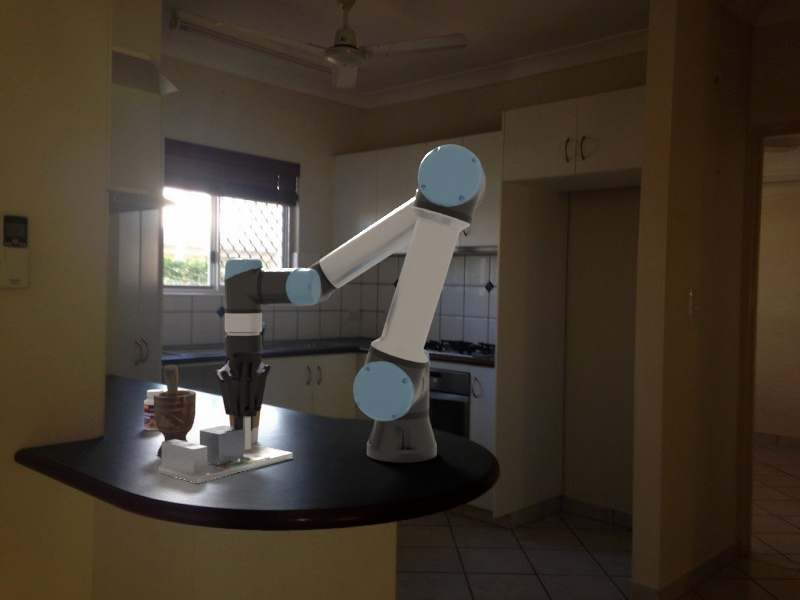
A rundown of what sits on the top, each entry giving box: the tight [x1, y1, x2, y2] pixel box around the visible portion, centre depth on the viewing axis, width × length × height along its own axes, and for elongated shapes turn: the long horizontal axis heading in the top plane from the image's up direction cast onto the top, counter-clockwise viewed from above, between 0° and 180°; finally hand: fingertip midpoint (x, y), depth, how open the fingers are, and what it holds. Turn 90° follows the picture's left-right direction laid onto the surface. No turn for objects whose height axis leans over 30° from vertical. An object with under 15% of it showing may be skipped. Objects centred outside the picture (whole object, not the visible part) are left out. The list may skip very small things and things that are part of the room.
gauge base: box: [158, 439, 294, 484], centre depth 139 cm, size 12×24×6 cm, turn 143°
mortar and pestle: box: [154, 364, 197, 457], centre depth 147 cm, size 12×9×20 cm
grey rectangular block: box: [199, 425, 243, 465], centre depth 137 cm, size 8×6×6 cm
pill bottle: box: [143, 388, 165, 432], centre depth 174 cm, size 5×5×10 cm
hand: (243, 447), depth 142 cm, fingers closed
